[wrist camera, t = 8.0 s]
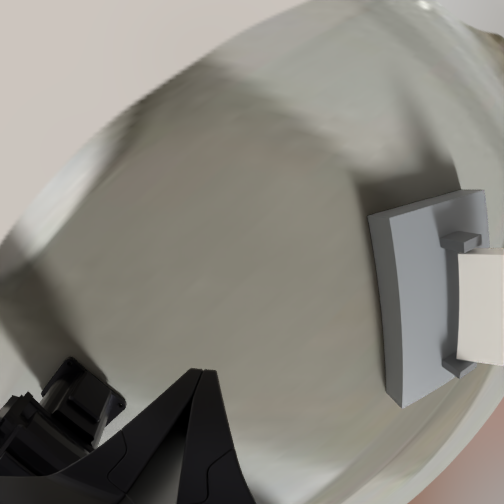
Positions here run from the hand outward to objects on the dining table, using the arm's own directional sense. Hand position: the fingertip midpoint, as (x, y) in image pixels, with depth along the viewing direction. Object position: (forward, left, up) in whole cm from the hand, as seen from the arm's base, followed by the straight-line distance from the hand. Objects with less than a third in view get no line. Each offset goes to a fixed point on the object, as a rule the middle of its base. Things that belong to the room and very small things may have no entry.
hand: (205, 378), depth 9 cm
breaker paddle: (+13, -16, -9) cm, 23 cm away
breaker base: (+13, -16, -13) cm, 25 cm away
